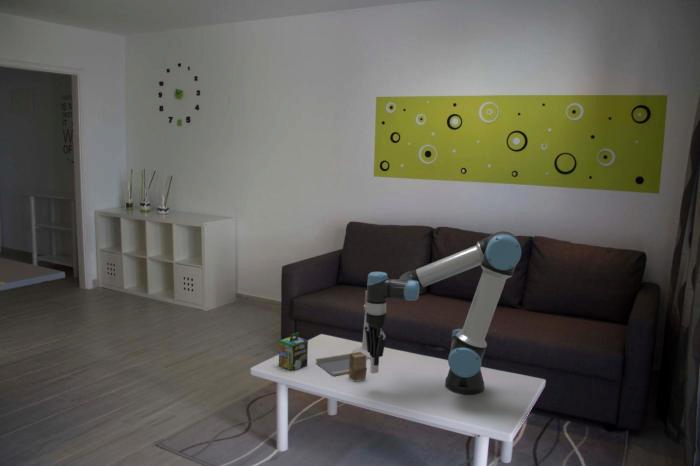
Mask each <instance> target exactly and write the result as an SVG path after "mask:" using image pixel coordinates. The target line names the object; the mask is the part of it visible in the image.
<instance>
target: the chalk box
mask: <svg viewBox="0 0 700 466" xmlns="http://www.w3.org/2000/svg"><path fill="white" fill-rule="evenodd" d="M299 334H300V333H299V331H297V332H295V333H292V334H291V335H290V336H288V337H286V338H282V339H281V340H280V339H279V341H278V366H279V367H281V368H284V369H287V370H290V371H291V372H294V371H296V370H299V369H300V370H301V369H303V368H305V367H308V357H309V356H308V353H309V350H308V349H309V347H308V346H309V344H308V343H309V340H308V339H305V338H302V337H299Z"/></svg>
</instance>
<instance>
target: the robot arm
mask: <svg viewBox="0 0 700 466" xmlns="http://www.w3.org/2000/svg"><path fill="white" fill-rule="evenodd" d="M521 257H522V247H521V244H520V242H519V240H518V238H517V237H516V235H514V234H513V233H511V232H509V231H505V230H504V231H501V230H500V231H498V232H495V233H492V234H491V235H489V236H487V237H485V238H483V239H480V240H479V241H477V242H476V245H473V246H471V247H469V248H466V249H464V250H461V251H459V252H458V251H457V252H456V253H454V254H452V255H448V256H446V257H444V258H441V259H439V260H436V261H434V262H431V263H428V264H426V265H424V266H421V267H419V268H417V269H415V270H411V271H406V272H404V273H402V274H401V276H400V277H399V279H398V278H397V279H395V278H389V277H388V273H387V272H384V271H371V272H370V273H368V275H367V282H366V283H367V284H366V291H367V308H366V311H367V314H366V322H367V323H368V326H367V327H365V332H366V341H367V351H368V352H369V353H370V355H371V359H370V370H369V371H370V372H369V373H371V374H373V375H374V374H378V373H379V364H380V357H383V356H384V351H385V345H386V340H387V338H388V334H386V333H384V325H385V324H386V322H387V314H386V313H387V303H388V302H387V299H388V300H389V299H390V300H399V301H408V302H409V301H411V302H413V301H417V300H418V299H419V296H420V289H422V288H425V287H427V286H429V285H433V284H435V283H437V282H438V283H439V282H440V281H442V280H445V279H448V278H451V277H453V276H456V275H459V274H461V273H463V272H466V271H468V270H471V269H473V268H476V267H479V266H480V267H481V269H482V273H481V276H480V278H479V281H478V284H477V287H476V290H475V291H474V292H475V293H474V296H473V298H472V301H471V304H470V307H469V309H468V312H467V313H468V314H467V316H466V318H465V322H464V325H463V327H462V328H456V329H453V330H452V334H451V345H450V350H449V354H448V357H447V362H448V366H449V370H448V373H447V376H446V378H445V381H444V382H445V383H444V384H445V388H446V389H448V390H449V391H451V392H455V393H458V394H461V395H477V394H480V393H482V392H484V389H485V381H484V377H483V374H482V371H481V369H482V360H483V358H484V355H485V353H486V352H485V351H486V349H487V347H488V343H487V341H486V339H485V338H486V337H487V334H488V331H489V328H490V326H491V323H492V320H493V317H494V315H495V312H496V308H497V305H498V303H499V301H500V298H501V295H502V292H503V290H504V286H505V283H506V281H507V279H509V278H512V277H513V275H514V272H515V269H516V267H517V264H518V263H519V262H520V261H521Z"/></svg>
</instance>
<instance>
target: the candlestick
mask: <svg viewBox="0 0 700 466" xmlns="http://www.w3.org/2000/svg"><path fill="white" fill-rule="evenodd" d="M364 292H365V294H364V295H365V297H364V305H363V307H364V308H363V309H364V319H363V321H364V322H363V331H362V343H361V344H362V345H361V347H356V348H355V349H353V350H352V351H351V353H357V352H361V353H363V354H364V355H366V360H371V355H370V353H369V352H368V351H367V341H366V332H365V327H367V326H368V323H367V322H366V314H367V311H366V308H367V290H365V291H364Z"/></svg>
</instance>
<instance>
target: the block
mask: <svg viewBox="0 0 700 466" xmlns="http://www.w3.org/2000/svg"><path fill="white" fill-rule="evenodd" d="M349 354H350V355H349V374H348V377H349V378H350V379H351V380H352V381H354V382H360V381H365V380H366V379H367V371H366V367H367V359H366V355H364V354H363V353H361V352H357V353H352V352H351V353H349Z"/></svg>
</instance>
